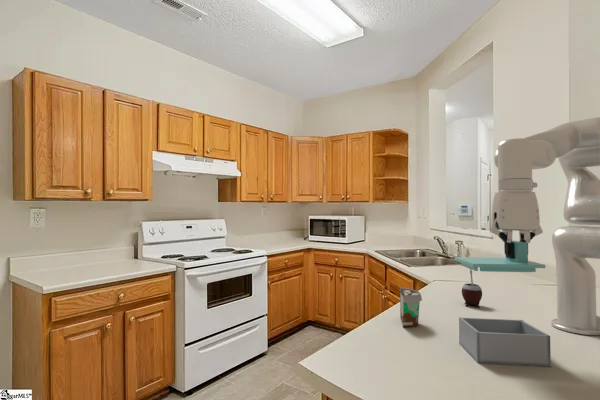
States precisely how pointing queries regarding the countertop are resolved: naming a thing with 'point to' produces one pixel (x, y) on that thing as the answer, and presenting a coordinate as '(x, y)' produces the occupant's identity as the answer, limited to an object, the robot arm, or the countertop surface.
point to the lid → (503, 261)
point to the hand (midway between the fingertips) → (516, 257)
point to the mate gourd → (472, 293)
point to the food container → (409, 307)
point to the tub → (504, 342)
